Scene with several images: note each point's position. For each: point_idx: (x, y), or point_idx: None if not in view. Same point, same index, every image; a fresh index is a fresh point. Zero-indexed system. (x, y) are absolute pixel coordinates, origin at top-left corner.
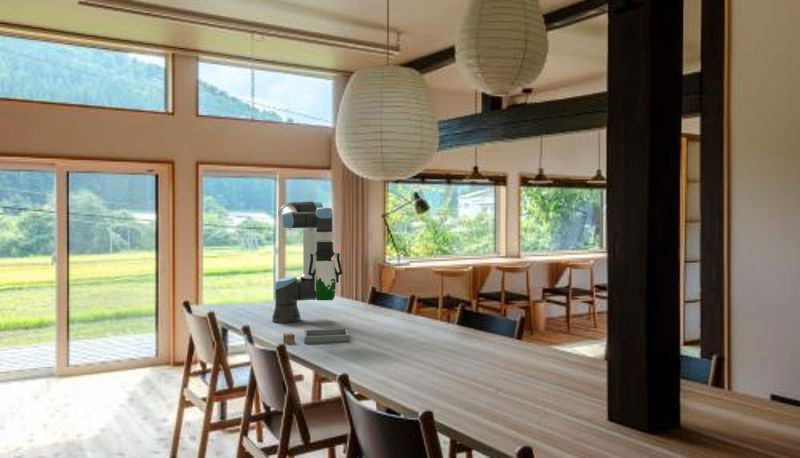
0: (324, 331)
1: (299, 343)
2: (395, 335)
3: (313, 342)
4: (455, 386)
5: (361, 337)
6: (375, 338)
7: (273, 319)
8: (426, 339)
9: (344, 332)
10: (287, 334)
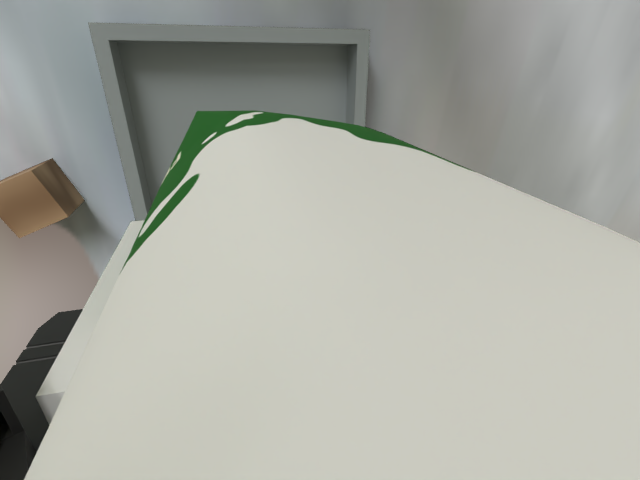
0: (232, 42)
1: (115, 213)
2: (551, 108)
3: None
4: None
5: (413, 123)
6: (462, 156)
7: None
8: (606, 200)
9: (348, 45)
10: (19, 215)
